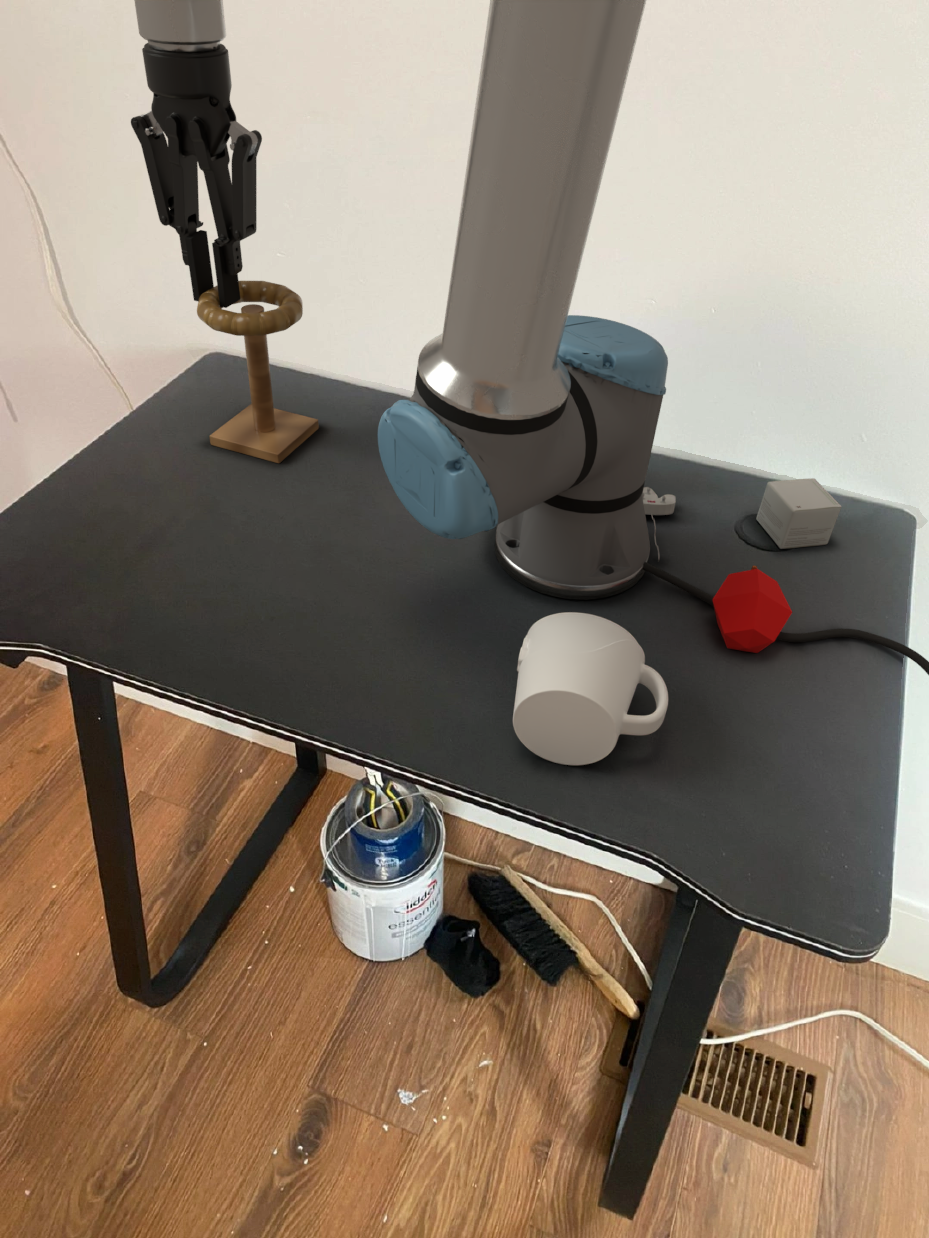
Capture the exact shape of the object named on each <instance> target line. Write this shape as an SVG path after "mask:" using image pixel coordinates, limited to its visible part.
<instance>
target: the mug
mask: <svg viewBox="0 0 929 1238" xmlns="http://www.w3.org/2000/svg"><path fill="white" fill-rule="evenodd" d="M645 663H646V656H645V652H644V649H643V648H642V646H641V645H640V644H639V642H638V641H637V639H636V638H635V637H634V636H633V635H632V634H631V633H630V632H629V631H628V630H627V629H626V628H624V627H623V626H621V625H619V624H618V623H616V622H614V621H612V620H610V619H607V618H604V617H603V616H600V615H595V614H591V613H587V612H586V613H585V612H576V611H572V612H571V611H569V612H568V611H567V612H557V613H553V614H550V615H547V616H544V617H542V618H540V619H539V620H536V622H533V624H532V625H531V626H530V628H529V629H528V631H527V633H526V635H525V637H524V638H523V642H522V645H521V647H520V650H519V654H518V660H517V667H516V672H517V680H516V689H515V690H516V691H515V698H514V706H513V715H512V726H513V727H512V728H513V730H514V733H515V735H516V737H517V738H518V739H519V741H520V742H521V744H522V745H524V747H526V748H527V749H528V750H529V751H530V752H532V753H533V754H534V755H536V756H538V757H540V758H542V759H544V760H546V761H549V762H552V763H556V764H559V765H565V766H567V765H568V766H584V765H585V766H586V765H589V764H593V763H597V762H599V761H601V760H603V759H604V758H606V757H607V756H609V754H611V753H612V752H613V750H614V749H615V747H616V745H617V742H618V740H619V737H620V735H627V736H648V735H650V734H653V733H655V732H656V731H658V730H659V729H660V728H661V726H662V725H663V723H664V721H665V718H666V713H667V710H668V707H669V692H668V688H667V685H666V682H665V680H664V678H663V677H662V676H661V674H660V673H659V672H658V671H657V670H656V669H654V668H653V667H651V666H649V665H647V664H645ZM638 684H639V685H643V686H644V687H645V688H647V689H648V690H649V691H650V693H651V694H652V696H653V698H654V702H655V710H654V712H652V713H650V714H646V715H638V714H637V715H636V714H628V711H629V709H630V707H631V703H632V700H633V699H634V698H633V697H634V695H635V692H636V689H637V686H638Z"/></svg>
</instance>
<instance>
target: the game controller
mask: <svg viewBox="0 0 929 1238" xmlns="http://www.w3.org/2000/svg"><path fill="white" fill-rule="evenodd" d="M642 498H643V504H644V510H645V515H651V519H652V520H653V524H654V525H653V526H654V532H653V533H654V534H653V537H654V543H655V547H656V549H657V557H658V558H657V562H660V558H661V557H660V548H659V545H657V538H656V535H657V534H656V533H657V527H656V520H655V518H654V517H653V516H665V515H666V516H668V515H673V513H674V512H675V507H676V501H677V500H676V499H677V498H676V495H673V494H669V493H667V494H664V495H662V496H660V497H658V495H657V494H656V492H655V491H654V490H653V489H652V488H650V487H649V486H644V488H643V494H642Z"/></svg>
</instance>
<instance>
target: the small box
mask: <svg viewBox="0 0 929 1238" xmlns="http://www.w3.org/2000/svg"><path fill="white" fill-rule="evenodd" d="M842 508H843V507H842V505H841V504H840V503H839V502H838V501H837V500H836V499H835V498H834V497H833V496H832V495H831V494H830V492H828V490H827V489H825V488H824V486H822V485H821V483H820V482H819V480H817V479H816V478H813V477H812V478H811V477H810V478H798V479H797V478H796V479H787V480H786V479H785V480H773V481H768V482H767V483H766V486H765V490H764V493H763V495H762V499H761V503H760V506H759V509H758V512H757V515H756V519H755V520H756V521H757V522H758V523H759V524H760V526H761V527H762V528H763V529H764V531H765V532H766V533H767V534H768V535H769V537H770V538H771V539H772V541H773V542H774V543H775V545H777V547H778V548H779V549H780V550H783V549H795V548H805V547H816V546H824V545H827V544H828V543H829V542H830V539H831V535H832V533H833V531H834V528H835V526H836V524H837V520H838V518H839V515H840V512H841V509H842Z"/></svg>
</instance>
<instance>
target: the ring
mask: <svg viewBox="0 0 929 1238" xmlns="http://www.w3.org/2000/svg"><path fill="white" fill-rule="evenodd" d="M238 281H239V290H240V300H238V301H237V302H235V303H233V304H232V305H236V304H241V303H264V304H269V305H274V306H277V308H274V309H271V310H266V311H265V310H264V312H261V313H241V312H235V311H232V310H231V311H230V310H228V309H223V308H224V307H220V302H219V294H218V286H217V285H214V287H213V288H211V289H210V290H208V291H206V292H205V293H203V294H202V295H201V296H200V297H199V301H197V306H196V314H197V316H198V318H199V320H200V321H202V322H203V323H204V324H205V325H206V326H208V327H209V328H210V329H212V330H213V331H216V332H221V333H224V334H228V335H233V336H236V337H244V336H263V335H267V336H268V335H271V334H275V333H279V332H284V331H286V330H288V329H290V328H291V327H292V326H293V325H295V324H296V323H298V322H299V321H300V320H301V319H302V317H303V314H304V313H303V311H304V310H303V307H304V306H303V299H302V297H301V296H300V295H299V294H298V293H296V292H295V291H294V290H292V289H291V288H289V287H288V286H286V285H283V284H280V283H275V282H270V281H266V280H238Z"/></svg>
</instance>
